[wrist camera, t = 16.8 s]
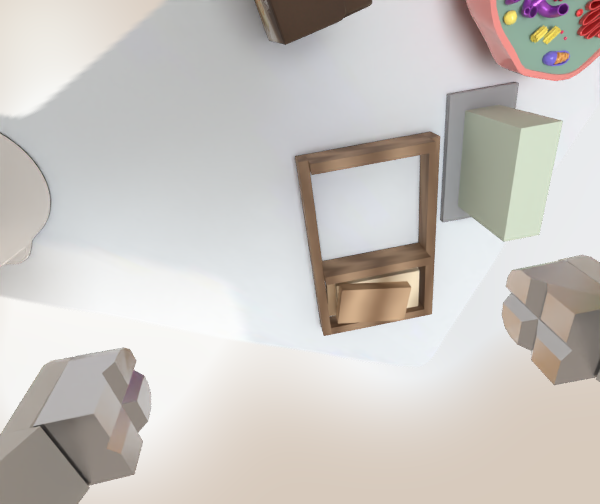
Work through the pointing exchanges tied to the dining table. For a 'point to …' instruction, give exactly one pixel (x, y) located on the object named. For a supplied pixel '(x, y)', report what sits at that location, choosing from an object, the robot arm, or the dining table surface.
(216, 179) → the dining table surface
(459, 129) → the slate pad
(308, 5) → the coffee box
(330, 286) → the offcut stack
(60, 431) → the robot arm
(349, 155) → the frame
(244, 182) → the dining table surface
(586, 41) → the cell model
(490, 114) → the pale green cuboid
